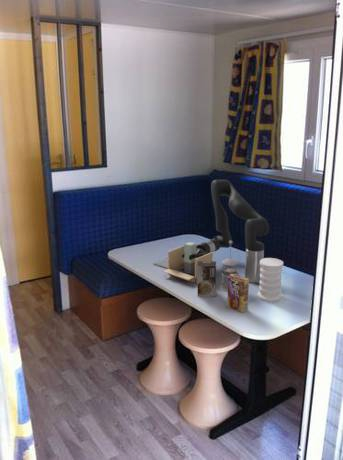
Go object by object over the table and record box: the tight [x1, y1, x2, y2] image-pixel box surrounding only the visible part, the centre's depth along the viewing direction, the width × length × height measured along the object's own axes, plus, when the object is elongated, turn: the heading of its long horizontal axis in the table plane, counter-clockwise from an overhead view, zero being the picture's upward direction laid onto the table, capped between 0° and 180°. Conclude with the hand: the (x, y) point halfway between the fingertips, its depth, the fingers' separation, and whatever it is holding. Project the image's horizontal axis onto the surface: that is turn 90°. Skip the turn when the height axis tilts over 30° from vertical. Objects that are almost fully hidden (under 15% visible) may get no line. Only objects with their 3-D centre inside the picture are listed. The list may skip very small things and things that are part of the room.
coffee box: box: [196, 260, 217, 298], centre depth 216 cm, size 9×6×16 cm
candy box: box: [226, 274, 250, 313], centre depth 201 cm, size 9×4×15 cm, turn 47°
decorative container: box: [256, 257, 284, 303], centre depth 212 cm, size 12×12×18 cm
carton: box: [162, 245, 218, 284], centre depth 240 cm, size 19×24×13 cm
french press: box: [219, 240, 239, 293], centre depth 221 cm, size 10×12×25 cm
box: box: [183, 241, 197, 275], centre depth 239 cm, size 4×4×16 cm
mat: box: [152, 257, 168, 270], centre depth 258 cm, size 12×12×1 cm
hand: (185, 256), depth 236 cm, fingers closed on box, 4 cm apart
